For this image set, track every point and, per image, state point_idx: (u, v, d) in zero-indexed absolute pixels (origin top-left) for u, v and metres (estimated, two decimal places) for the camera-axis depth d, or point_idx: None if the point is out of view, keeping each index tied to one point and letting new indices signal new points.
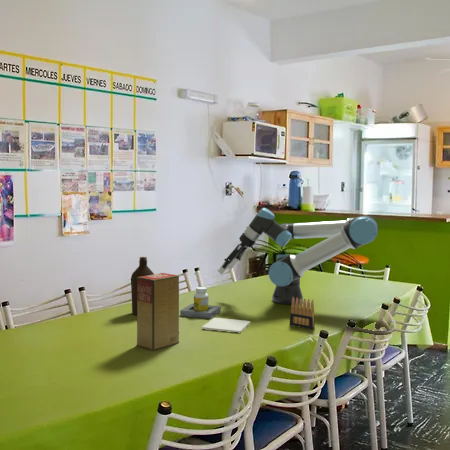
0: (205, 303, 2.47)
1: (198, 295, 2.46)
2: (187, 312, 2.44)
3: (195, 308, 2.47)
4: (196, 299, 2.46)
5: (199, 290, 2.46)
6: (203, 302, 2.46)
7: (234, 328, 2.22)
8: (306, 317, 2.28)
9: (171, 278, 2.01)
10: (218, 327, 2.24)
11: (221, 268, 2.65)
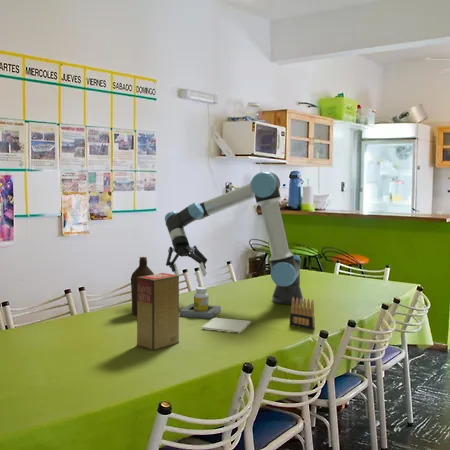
0: (205, 303, 2.47)
1: (198, 295, 2.46)
2: (187, 312, 2.44)
3: (195, 308, 2.47)
4: (196, 299, 2.46)
5: (199, 290, 2.46)
6: (203, 302, 2.46)
7: (234, 328, 2.22)
8: (306, 317, 2.28)
9: (171, 278, 2.01)
10: (218, 327, 2.24)
11: (175, 273, 2.56)
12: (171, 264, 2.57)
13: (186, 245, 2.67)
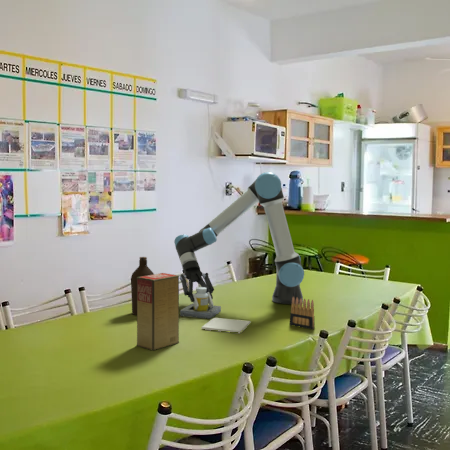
0: (205, 303, 2.47)
1: (198, 295, 2.46)
2: (187, 312, 2.44)
3: None
4: None
5: (199, 290, 2.46)
6: (203, 302, 2.46)
7: (234, 328, 2.22)
8: (306, 317, 2.28)
9: (171, 278, 2.01)
10: (218, 327, 2.24)
11: (194, 303, 2.46)
12: (190, 294, 2.47)
13: (198, 269, 2.57)
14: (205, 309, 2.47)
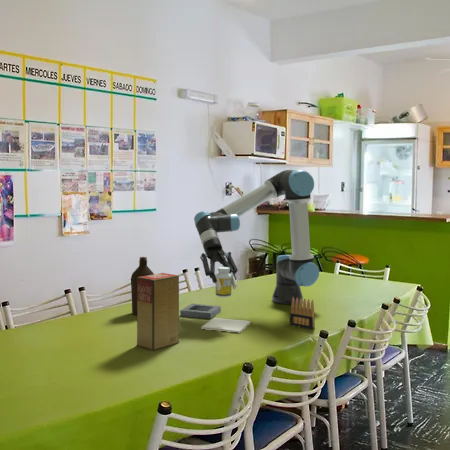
0: (228, 284, 2.26)
1: (221, 275, 2.26)
2: (187, 312, 2.44)
3: None
4: None
5: (222, 270, 2.26)
6: (226, 283, 2.26)
7: (234, 328, 2.22)
8: (306, 317, 2.28)
9: (172, 278, 2.01)
10: (218, 327, 2.24)
11: (216, 285, 2.26)
12: (212, 274, 2.27)
13: (220, 248, 2.37)
14: (228, 291, 2.27)
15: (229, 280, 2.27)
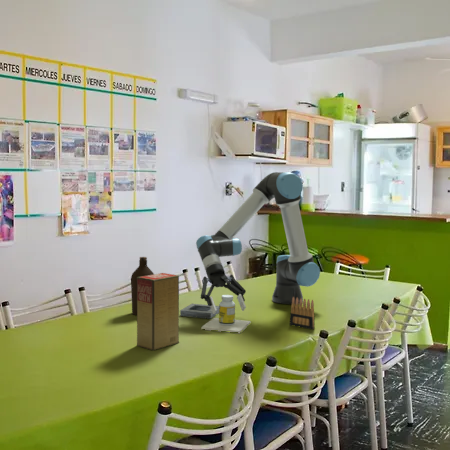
0: (232, 312, 2.26)
1: (224, 304, 2.26)
2: (187, 312, 2.44)
3: (221, 318, 2.27)
4: (222, 308, 2.26)
5: (225, 298, 2.26)
6: (229, 311, 2.26)
7: (234, 328, 2.22)
8: (306, 317, 2.28)
9: (171, 278, 2.01)
10: (218, 327, 2.24)
11: (211, 308, 2.25)
12: (207, 297, 2.26)
13: (222, 274, 2.36)
14: (232, 319, 2.27)
15: (233, 308, 2.26)
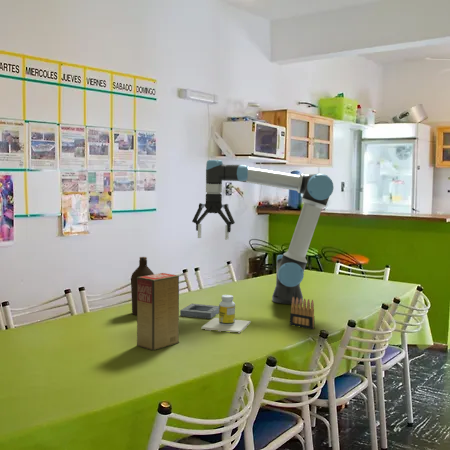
0: (232, 312, 2.26)
1: (224, 304, 2.26)
2: (187, 312, 2.44)
3: (221, 318, 2.27)
4: (222, 308, 2.26)
5: (225, 298, 2.26)
6: (229, 311, 2.26)
7: (234, 328, 2.22)
8: (306, 317, 2.28)
9: (172, 278, 2.01)
10: (218, 327, 2.24)
11: None
12: (196, 223, 2.65)
13: (217, 203, 2.61)
14: (232, 319, 2.27)
15: (233, 308, 2.26)
